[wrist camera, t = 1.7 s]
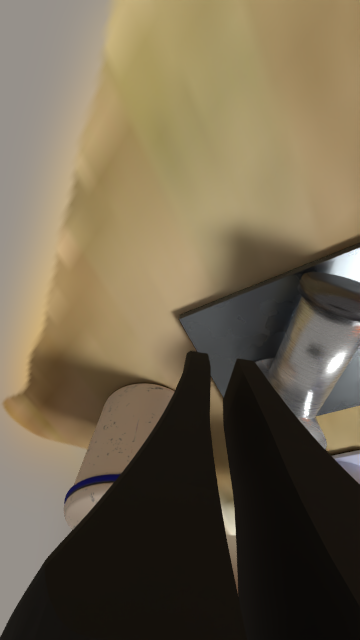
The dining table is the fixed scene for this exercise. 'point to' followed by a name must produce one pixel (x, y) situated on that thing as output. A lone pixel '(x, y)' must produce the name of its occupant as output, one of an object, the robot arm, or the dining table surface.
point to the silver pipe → (317, 345)
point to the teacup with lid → (115, 444)
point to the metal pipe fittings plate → (268, 326)
